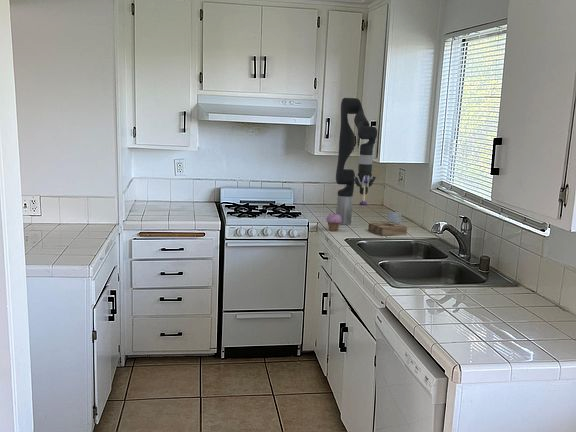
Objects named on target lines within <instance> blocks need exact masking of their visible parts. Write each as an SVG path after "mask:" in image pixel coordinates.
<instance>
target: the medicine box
mask: <svg viewBox="0 0 576 432" xmlns="http://www.w3.org/2000/svg"><path fill="white" fill-rule="evenodd" d="M402 213H403V212H396V211H388V212H387V222H394V223H397V224H400V225H402V216H403V215H402Z"/></svg>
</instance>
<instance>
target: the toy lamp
mask: <svg viewBox="0 0 576 432" xmlns="http://www.w3.org/2000/svg"><path fill="white" fill-rule="evenodd" d="M359 181H360V180H359ZM360 182H362V181H360ZM363 182H364V187H363V188H364V191H363V194H361V196H362V197H361V201H360V202H359V204H358V205H359V206H367V205H368V203H367V202H366V194H365V187H366V186H365V185H366V183H368V179H367V175H365V180H364V181H363Z"/></svg>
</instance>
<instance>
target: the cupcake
mask: <svg viewBox="0 0 576 432" xmlns="http://www.w3.org/2000/svg"><path fill="white" fill-rule="evenodd" d="M325 221H326V222H327V224H328V230H329V231H331V232H337V231H338V230H339V227H340V225H341V224H340V223H341V221H342V218H341V216H340V215H339V214H336V212H335V213H329V214H328V215H327V216H326V220H325Z"/></svg>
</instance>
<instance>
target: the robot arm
mask: <svg viewBox="0 0 576 432" xmlns="http://www.w3.org/2000/svg"><path fill="white" fill-rule="evenodd" d="M348 115H355V116H354V118H353V122H354V124H355V128H356V129H357V136H358V138H359V139H360V140H368V141H367V142H366V143H362V144H360V146H359V157H358V165H357V166H358V168H357V170H358V173H357V175H355V174H356V172H355V170H353V169H352V168H349V169H348V168H347V169H345V164H346V162H347V160H348V159H349V157H350V156H351V154H352V153H353V151H354V149H355V140H356V136H355V133H354V130H353V129H352V127H351V125H350V122H349V119H348ZM339 128H340V130H339V141H338V155H337V156H338V158H337V163H336V164H337V165H336V171H335V183H336V184H337V185H343V186H344V185H346V186H345V187H343V188H341V189H338V190H337V196H336V197H337V198H336V200H337V202H336V209H335V211H336V212H335V214H339V215H340V216H341V218H342V221H341V223H340V225H343V226H346V225H347V226H348V225H351V224H352V215H353V214H352V213H353V199H354V198H353V197H354V189H355V184H356V187H358V188H359V193H360V194H359V195H362V194H363V191H364V188H363V187H364V182H363V181H364V180H365V175H367V179H368V183H366V185H365V186H366V187H365V195H367V194H368V193H369V188H370V187H372V185H373V184H374V182H375V180H376V179H377V177H376V176H374V175H373V174H372V171H373V163H374V162H373V159H374V158H373V152H374V151H373V150H374V146H375V142H376V139H377V137H378V129H377V128H376V126H371V125H370V122H369V121H368V118H367V117H366V115H365V112H364V109H363V105H362V102H361V100H360V99H359V98H356V97H355V98H354V97H342V99H341V103H340V127H339ZM360 181H362V182H360Z"/></svg>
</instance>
